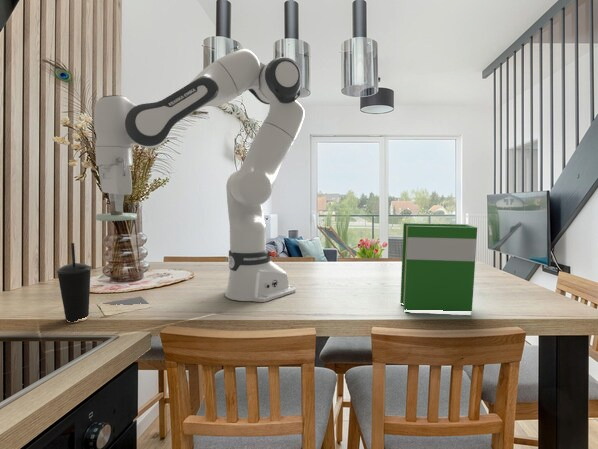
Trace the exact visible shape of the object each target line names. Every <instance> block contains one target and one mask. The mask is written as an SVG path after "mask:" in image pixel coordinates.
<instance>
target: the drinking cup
mask: <svg viewBox="0 0 598 449" xmlns="http://www.w3.org/2000/svg"><path fill="white" fill-rule="evenodd" d="M70 246H71V247H70V248H71V262H72V263H68V264H65V265H63V266H61V267H59V268H57V269H56V271H55V273H56V274H57V278H58V283H59V289H60V295H61V301H62V307H63V311H64V317H65V320H66V319H67V320H68V321H70V322H74V321H77V320H78V319H82V318H85V317H87V316H88V315H89V314H90V292H91V291H90V290H91V274H92V272H91V271H92V269H93V267H92V266H91V265H89V264H88V265H87V264H85V263H80V262H76V253H75V252H76V250H75V242H71V243H70Z"/></svg>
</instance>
